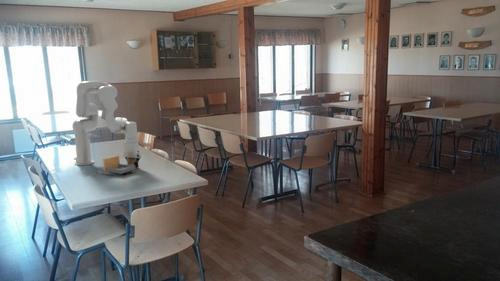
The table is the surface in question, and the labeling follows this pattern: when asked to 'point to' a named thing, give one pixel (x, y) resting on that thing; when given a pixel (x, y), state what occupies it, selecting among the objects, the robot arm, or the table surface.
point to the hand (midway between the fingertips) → (133, 166)
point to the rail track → (115, 174)
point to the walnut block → (131, 161)
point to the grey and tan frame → (116, 165)
